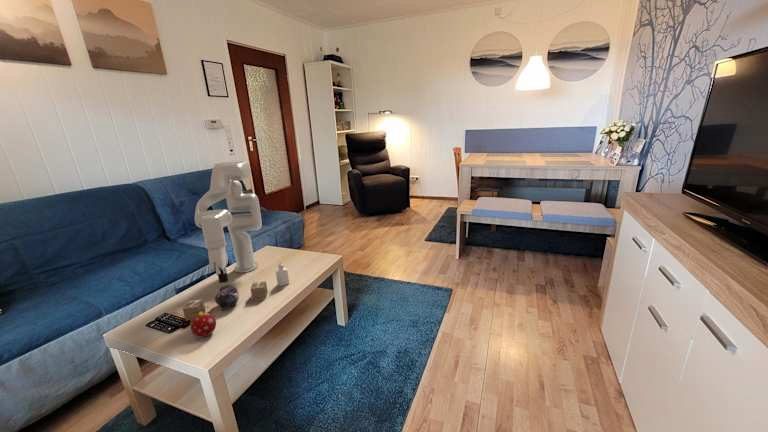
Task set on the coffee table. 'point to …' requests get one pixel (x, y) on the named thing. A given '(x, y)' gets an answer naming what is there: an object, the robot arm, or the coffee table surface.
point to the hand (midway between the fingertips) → (223, 281)
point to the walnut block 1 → (259, 290)
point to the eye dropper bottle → (282, 275)
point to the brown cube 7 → (193, 309)
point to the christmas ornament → (203, 324)
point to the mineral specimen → (226, 296)
